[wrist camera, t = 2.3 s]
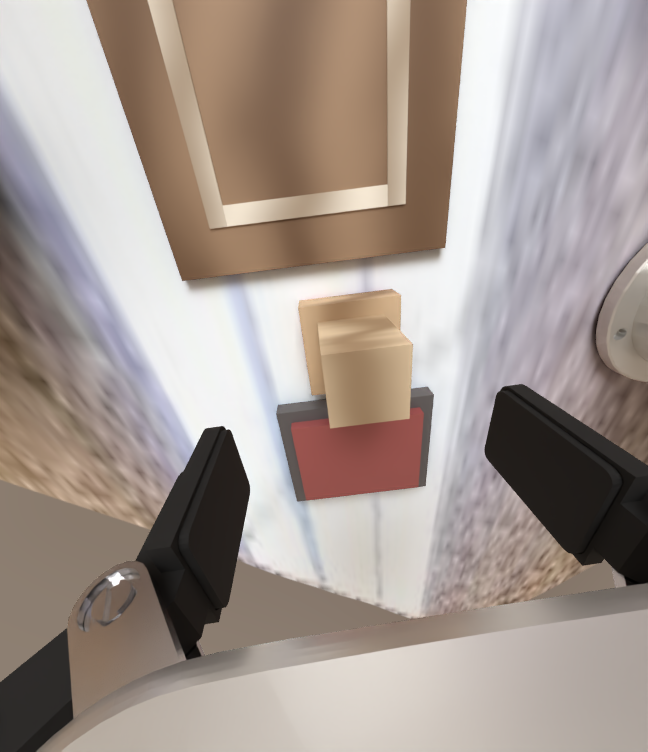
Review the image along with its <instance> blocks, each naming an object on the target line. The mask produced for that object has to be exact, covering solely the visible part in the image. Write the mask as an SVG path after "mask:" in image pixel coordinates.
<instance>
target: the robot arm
mask: <svg viewBox="0 0 648 752" xmlns="http://www.w3.org/2000/svg"><path fill="white" fill-rule="evenodd" d="M596 345H597V349H598V352H599V355H600V357H601V359H602V360H603V362H604V363H605V365H606V366H608V367H609V368H610V369H612V370H613V371H614V372H616V373H618V374H621V375H623V376H625V377H627V378H629V379H632V380H637V381H641V382H648V243H647V244H646V245H645V246H644V247H643V248H642V249H641V250H640V251H639V252H638V253H637V254H636V255H635V257H634V258H633V259H632V260H631V261H630V262H629V263H628V265H627V266H626V267H625V269H624V270H623V271H622V273H621V274H620V275H619V277H618V278H617V279H616V281H615V283H614V284H613V286H612V288H611V290H610V292H609V293H608V295H607V297H606V299H605V301H604V304H603V307H602V309H601V312H600V314H599V319H598V324H597V329H596ZM485 455H486V458H487V459H488V460H489V462H490V463H491V464H492V465H493V466H494V468H495V469H496V470H497V471H498V472H499V473H500V475H501V476H502V477H503V478H504V479H505V481H506V482H507V483H508V484H509V485H510V486H511V488H512V489H513V490H514V491H515V492H516V493H517V495H518V496H519V497H520V498H521V499H522V501H523V502H524V503H525V504H526V505H527V506H528V508H529V509H530V510H531V511H532V512H533V514H534V515H535V516H536V517H537V518H538V519H539V521H540V522H541V523H542V524H543V525H544V526H545V528H546V529H547V530H548V531H549V532H550V534H551V535H552V536H553V537H554V538H555V539H556V541H557V542H558V543H559V544H560V545H561V546H562V548H563V549H564V550H566V551H567V552H568V553H571V554H573V555H574V556H575V558H576V559H577V560H578V561H579V562H580V563H581V565H582V566H583V565H590V564H596V563H601V562H602V561H603V560H604V559H605V560H606V561H607V562H608V563H609V564H610V565H611V566H612V572H613V577H614V583H615V588H611V589H605V590H598V591H592V592H584V593H578V594H571V595H565V596H558V597H552V598H545V599H539V600H532V601H525V602H519V603H512V604H506V605H500V606H493V607H487V608H480V609H474V610H468V611H461V612H455V613H449V614H442V615H436V616H429V617H423V618H417V619H410V620H404V621H398V622H392V623H386V624H380V625H374V626H367V627H361V628H355V629H349V630H343V631H336V632H331V633H324V634H319V635H312V636H306V637H300V638H293V639H288V640H282V641H277V642H272V643H266V644H261V645H255V646H250V647H244V648H239V649H233V650H228V651H223V652H218V653H214V654H210V655H206V656H205V654H204V652H203V650H202V647H201V645H200V643H199V639H200V638H201V637H202V633H203V628H204V624H208V623H215V622H219V619H220V614H221V610H222V608H224V607H226V606H227V604H228V602H229V598H230V593H231V588H232V583H233V577H234V572H235V567H236V562H237V557H238V552H239V547H240V542H241V537H242V531H243V526H244V521H245V516H246V511H247V506H248V501H249V495H250V485H249V481H248V478H247V476H246V473H245V470H244V467H243V464H242V461H241V458H240V455H239V453H238V450H237V447H236V444H235V441H234V438H233V435H232V433H231V431H230V430H226V429H225V428H224V427H223V426H220V427H213V428H206V429H205V430H204V431H203V433H202V435H201V437H200V439H199V441H198V443H197V445H196V447H195V450H194V452H193V454H192V456H191V458H190V460H189V462H188V464H187V466H186V468H185V470H184V471H183V472H182V473H181V474H180V475H179V476H178V478H177V480H176V482H175V484H174V486H173V488H172V490H171V492H170V494H169V496H168V498H167V500H166V502H165V504H164V506H163V507H162V509H161V511H160V513H159V515H158V517H157V519H156V521H155V523H154V525H153V527H152V529H151V531H150V533H149V535H148V537H147V539H146V541H145V543H144V545H143V547H142V549H141V551H140V553H139V555H138V557H137V559H136V561H127V562H124V563H121V564H118V565H116V566H114V567H112V568H110V569H109V570H107V571H105V572H104V573H103V574H101V575H100V576H99V577H98V578H97V579H95V580H94V581H93V582H92V583H91V584H90V586H88V588H87V589H86V590H85V591H84V592H83V593H82V595H81V596H80V597H79V599H78V600H77V602H76V604H75V605H74V607H73V609H72V612H71V614H70V616H69V619H68V627H67V629H65V630H64V631H63V632H62V633H60V634H59V635H58V636H57V637H55V638H54V639H53V640H52V641H51V642H49V643H48V644H47V645H46V646H44V647H43V648H42V649H41V650H39V651H38V652H37V653H36V654H35V655H33V656H32V657H31V658H30V659H28V660H27V661H26V662H25V663H23V664H22V665H21V666H20V667H19V668H17V669H16V670H15V671H14V672H12V673H11V674H10V675H9V676H8V677H6V678H5V679H4V680H2V682H0V752H648V465H646V464H645V463H643V462H641V461H640V460H638V459H637V458H635V457H634V456H632V455H631V454H629V453H628V452H626V451H625V450H623V449H622V448H620V447H619V446H617V445H615V444H614V443H612V442H611V441H609V440H608V439H606V438H605V437H603V436H602V435H600V434H599V433H597V432H596V431H594V430H593V429H591V428H589V427H588V426H586V425H585V424H583V423H582V422H580V421H579V420H577V419H576V418H574V417H573V416H571V415H570V414H568V413H567V412H565V411H563V410H562V409H560V408H559V407H557V406H556V405H554V404H553V403H551V402H550V401H548V400H547V399H545V398H544V397H542V396H541V395H539V394H537V393H536V392H534V391H533V390H531V389H530V388H528V387H527V386H525V385H523V384H519V385H512V386H505V387H503V388H502V389H501V390H500V392H498V393H497V395H496V399H495V404H494V408H493V413H492V417H491V422H490V426H489V431H488V436H487V440H486V445H485Z"/></svg>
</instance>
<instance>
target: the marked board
mask: <svg viewBox="0 0 648 752" xmlns="http://www.w3.org/2000/svg"><path fill="white" fill-rule="evenodd" d="M87 3H88V6H89V9H90V12H91V15H92V18H93V21H94V24H95V27H96V30H97V33H98V36H99V39H100V41H101V44H102V47H103V50H104V53H105V56H106V59H107V62H108V65H109V68H110V71H111V74H112V77H113V80H114V82H115V85H116V88H117V91H118V94H119V97H120V100H121V103H122V106H123V109H124V112H125V115H126V118H127V120H128V123H129V126H130V129H131V132H132V135H133V138H134V141H135V144H136V147H137V150H138V153H139V156H140V159H141V161H142V164H143V167H144V170H145V173H146V176H147V179H148V182H149V185H150V188H151V191H152V194H153V197H154V200H155V202H156V205H157V208H158V211H159V214H160V217H161V220H162V223H163V226H164V229H165V232H166V235H167V238H168V241H169V243H170V246H171V249H172V252H173V255H174V258H175V261H176V264H177V267H178V270H179V273H180V276H181V279H182V281H185V280H193V279H201V278H209V277H217V276H225V275H233V274H241V273H249V272H257V271H264V270H272V269H280V268H288V267H296V266H304V265H312V264H320V263H328V262H336V261H343V260H351V259H359V258H367V257H375V256H383V255H391V254H399V253H407V252H415V251H422V250H430V249H438V248H445V244H446V233H447V221H448V210H449V199H450V187H451V176H452V165H453V153H454V142H455V131H456V119H457V108H458V97H459V85H460V74H461V63H462V51H463V40H464V29H465V17H466V6H467V0H87Z"/></svg>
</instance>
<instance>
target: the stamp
mask: <svg viewBox="0 0 648 752" xmlns="http://www.w3.org/2000/svg"><path fill="white" fill-rule="evenodd" d="M298 310H299V316H300V323H301V329H302V335H303V342H304V348H305V354H306V361H307V367H308V374H309V380H310V386H311V393H312V395H319V394H326V400H327V408H328V416H329V423H330V428H338V427H346V426H354V425H362V424H371V423H379V422H387V421H395V420H403V419H410V397H411V374H412V352H413V344H412V343H411V342H410V341H409V340H408V339H407V338H406V336H405V335H404V334H403V333H402V332H401V331H400V319H401V295H400V294H398V293H397V292H395V291H394V290H392V289H389V290H381V291H373V292H365V293H357V294H349V295H341V296H333V297H325V298H317V299H309V300H301V301H299V306H298Z"/></svg>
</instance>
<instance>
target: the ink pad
mask: <svg viewBox="0 0 648 752" xmlns="http://www.w3.org/2000/svg"><path fill="white" fill-rule="evenodd" d="M433 398H434V394H433V393H432V392H431V391H430V389H429V388H428V387H422V388H414V389H411V397H410V419H403V420H395V421H387V422H379V423H371V424H362V425H354V426H346V427H338V428H330V423H329V416H328V408H327V400H326V399H325V400H316V401H308V402H300V403H292V404H284V405H278V408H277V413H276V415H277V419H278V423H279V427H280V431H281V436H282V440H283V444H284V448H285V452H286V457H287V461H288V465H289V469H290V473H291V477H292V482H293V486H294V490H295V494H296V498H297V501H305V500H314V499H323V498H331V497H340V496H348V495H356V494H365V493H373V492H381V491H390V490H398V489H406V488H415V487H422V486H426V475H427V464H428V453H429V442H430V431H431V420H432V409H433Z"/></svg>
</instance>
